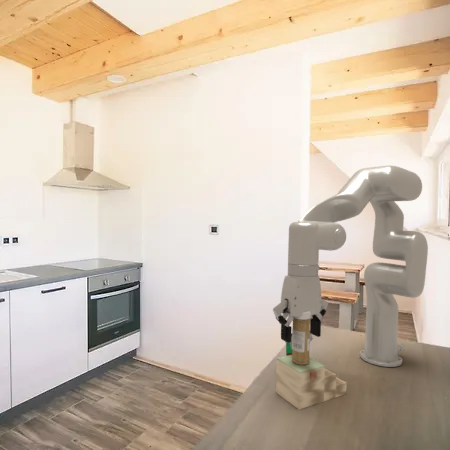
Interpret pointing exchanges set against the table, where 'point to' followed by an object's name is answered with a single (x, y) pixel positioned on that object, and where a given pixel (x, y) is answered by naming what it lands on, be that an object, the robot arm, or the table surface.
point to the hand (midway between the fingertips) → (300, 337)
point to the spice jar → (301, 339)
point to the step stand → (306, 382)
